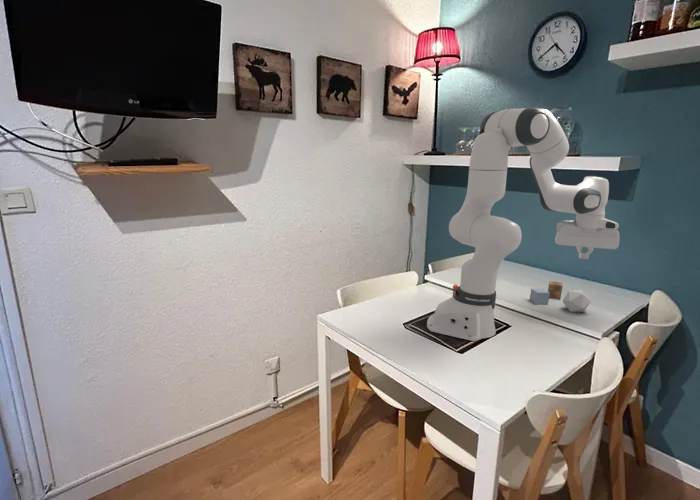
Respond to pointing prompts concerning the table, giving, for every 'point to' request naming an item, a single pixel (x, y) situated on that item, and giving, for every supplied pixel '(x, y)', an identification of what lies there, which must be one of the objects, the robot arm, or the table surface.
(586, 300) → the die
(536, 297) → the slate block
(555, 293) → the walnut block
